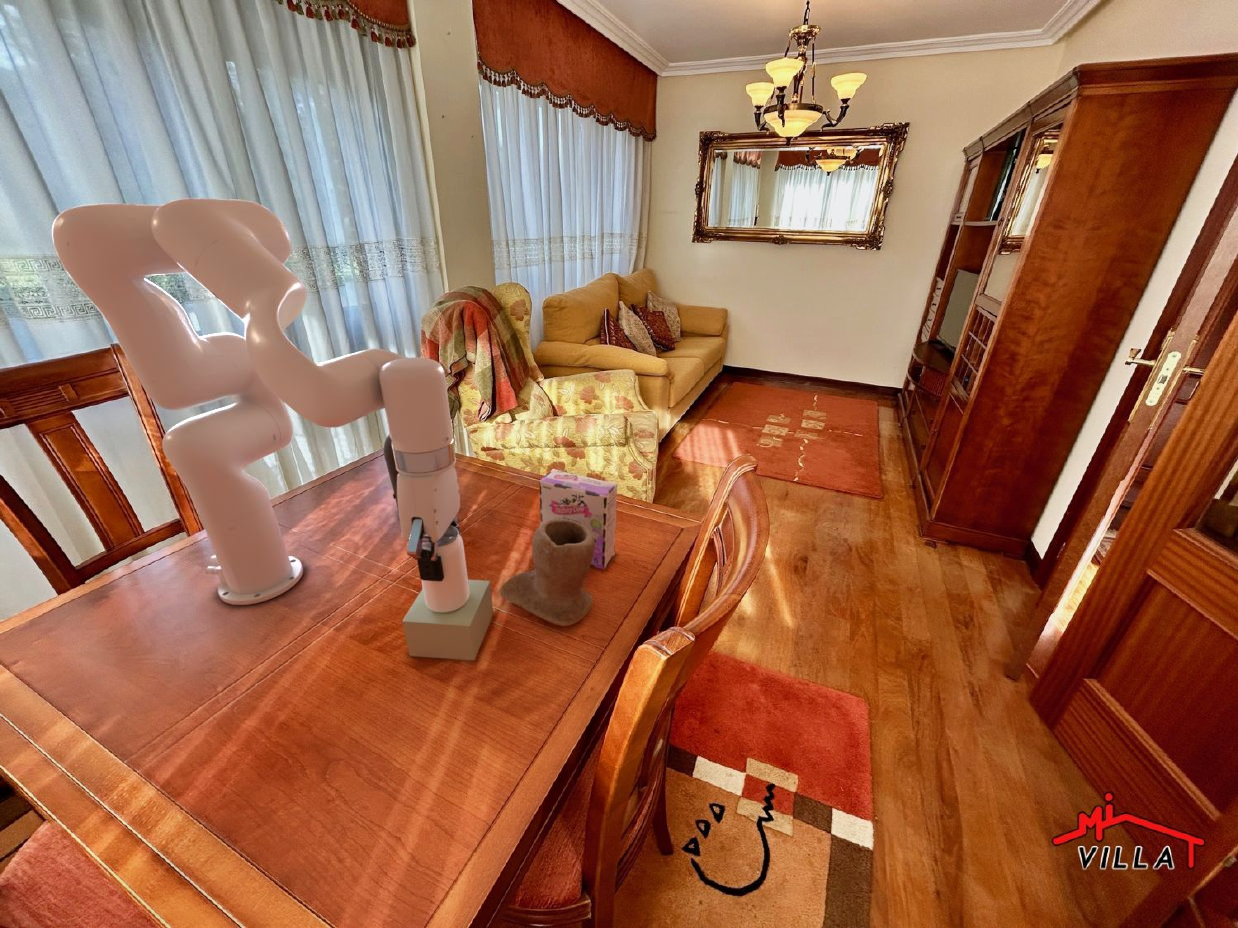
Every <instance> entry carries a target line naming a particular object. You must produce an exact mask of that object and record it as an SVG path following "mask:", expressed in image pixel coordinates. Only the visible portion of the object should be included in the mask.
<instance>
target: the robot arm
mask: <svg viewBox="0 0 1238 928" xmlns="http://www.w3.org/2000/svg"><path fill="white" fill-rule="evenodd" d="M51 238H52V242H53V247H54V249H55V253H56V255H57V258H58V260H59V262H60V264H61V266H62V267H63V269H64V271H65V272H66V273H67V275H68V276H69V278H70V279H71V280H72V281H73V283H74V284H75V286H77V288H78V289H79V290H80V291H81V292H82V293H83V294H84V295H85V297H86V298H87V299H88V300H89V301H90V302H91V303H92V304H93V305H94V307H95V308H96V309H97V310H98V311H99V313H100V314H101V315H102V316H103V318H104V320H105V321H106V322H107V324H108V326H109V328H110V329H111V331H112V333H113V335H114V337H115V339H116V342H117V343H118V345H119V346H120V348H121V351H122V352H123V353H124V355H125V357H126V359H127V361H128V363H129V365H130V366H131V369H132V370H133V372H134V374H135V376H136V377H137V379H138V381H139V383H140V384H141V386H142V388H143V389H144V391H145V393H146V394H147V396H148V397H149V398H150V399H151V400H152V402H153V403H155V404H156V405H157V406H158V407H160V408H161V409H165V410H168V411H169V410H170V411H183V410H188V409H192V408H195V407H200V406H203V405H206V404H209V403H213V402H216V401H219V400H223V399H226V398H229V397H230V398H231V399H232V401H233V403H232V404H229V405H226V406H223V407H220V408H217V409H216V408H215V409H214V410H210V411H207V412H204V413H201V414H198V415H196V416H191V417H190V418H187V419H185V420H182V421H181V422H179V423H176V424H175V425H174V426H171V428H170V429H169V430H167V432H166V433H165V434H164V436H163V438H162V442H161V448H162V451H163V453H164V456H165V458H166V459H167V461H168V463H169V464H170V465H171V467H172V468H173V469H174V471H175V473H176V474H177V476H178V477H179V478H180V480H181V481H182V483H183V485H184V487H185V488H186V490H187V492H188V494H189V496H190V498H191V501H192V502H193V504H194V507H195V509H196V512H197V514H198V517H199V518H200V520H201V523H202V526H203V528H204V530H205V533H206V536H207V538H208V541H209V543H210V545H211V548H212V550H213V553H214V555H212V556H210V558H209V560H208V565H209V566H207V567H206V569H205V574H206V575H213V576H214V575H216V576H217V575H218V577H219V580H220V582H219V584H218V586H217V594H218V596H219V598H220V600H222V602H224V603H226V604H228V605H229V604H230V605H234V606H246V605H247V606H248V605H254V604H258V603H263V602H266V601H268V600H271V599H274V598H276V597H278V596H280V595H282V594H284V593H285V592H287V591H289V590H291V588H293V587H294V586H295V585H296V584H297V583H298V582H299V581H300V579H301V578H302V576H303V574H304V567H303V563H302V561H301V560H300V559H298V558H297V557H295V556H291V555H289V553H288V550H287V547H286V544H285V541H284V538H283V535H282V532H281V529H280V526H279V522H278V519H277V517H276V513H275V511H274V507H273V505H272V501H271V498H270V495H269V493H268V490H267V488H266V486H265V485H264V484H263V483H262V482H261V481H260V480H259V479H257V478H255V477H253V476H251V475H250V474H248V473H247V472H246V471H245V468H246V467H247V466H249V465H251V464H253V463H255V462H256V461H259V460H261V459H263V458H266V457H268V456H270V455H272V454H274V453H276V452H279V451H280V450H282V449H284V448H286V447H287V446H288V445H289V444H290V443H291V442H292V440H293V438H294V425H293V422H292V418H291V415H290V413H289V411H288V408H287V407H286V406H288V407H289V408H290V409H291V410H292V411H294V412H295V413H296V414H297V415H299V416H300V417H302V418H303V419H305V420H306V421H308V422H309V423H312V424H314V425H316V426H319V427H322V428H329V429H330V428H331V429H333V428H339V427H340V428H341V427H343V426H345V425H348V424H350V423H353V422H355V421H357V420H359V419H362V418H363V417H365V416H367V415H369V414H372V413H374V412H376V411H380V410H383V409H384V411H385V416H386V422H387V423H386V424H387V428H388V432H389V433H388V434H390V438H391V444H392V449H393V454H394V459H395V464H396V469H397V471H398V472H399V473H398V475H397V501H398V508H397V511H398V510H399V512H398V519H399V524H400V525H399V526H400V530H401V536H402V540H403V541H405V542H408V543H407V549H406V554H407V556H409V557H411V558H413V559H414V560H415V561H417V566H418V567H417V568H418V572H419V577H420V580H421V579H422V580H426V581H443V579H444V573H443V566H442V560H441V556H438V540H439V539H440V538H441V537H442V536H443V534H444V533H445V531H446V530H447V528H448V527H449V525H452V526H454V527H456V528H457V529H458V531H459V535H460V536H461V530H460V527H459V526H460V518H459V515H458V513H459V511H460V507H461V494H460V487H459V481H458V480H459V479H458V474H457V470H456V466H455V465H456V464H457V456H456V449H455V441H454V433H453V425H452V417H451V410H450V401H449V394H448V387H447V386H448V385H447V378H446V374H445V373H446V372H445V369H444V367H443V365H442V364H441V363H440V362H438V361H436V360H434V359H432V358H427V357H417V356H416V357H408V356H406V355H405V356H404V355H402V354H399V353H396V352H393V351H391V350H387V349H383V348H367V349H364V350H360V351H357V352H354V353H349V354H345V355H343V356H339V357H335V358H332V359H329V360H326V361H323V362H319V363H316V362H314V361H313V360H311V359H310V358H309V357H308V356H307V355H306V354H304V353H303V352H302V351H301V350H300V349H298V347H297V346H296V345H295V344H293V343H292V341H291V340H290V339H289V338H288V337H287V336H286V334H285V332H284V330H285V329H287V327H289V326H290V325H291V324H292V323H293V322H294V321H295V320H296V319H297V318H298V316H299V315H300V314H301V312H302V311H303V309H304V307H305V305H306V301H307V297H308V296H307V295H308V294H307V288H306V286H305V284H304V282H303V281H302V280H301V279H300V277H298V276H297V275H296V274H295V273H293V272H292V271H291V270H290V269H289V267H287V266H286V265H284V264H285V263H287V261H289V259H290V256H291V254H292V242H291V237H290V234H289V231H288V230H287V228H286V226H285V225H284V223H283V222H282V220H281V219H280V218H279V217H278V216H277V215H276V214H275V213H274V212H273V211H272V210H270V209H269V208H267V207H266V206H264V205H262V204H260V203H258V202H254V201H251V200H247V199H245V200H244V199H228V198H227V199H226V198H225V199H223V198H203V197H200V198H198V197H187V198H179V199H174V200H171V201H170V200H169V201H168V202H166V203H164V204H162V205H161V204H138V203H136V204H135V203H91V204H83V205H77V206H74V207H71V208H67V209H66V210H63V211H62V212H60V213H59V214H58V215H57V216H56V217H55V219H54V220H53V223H52V228H51ZM175 274H176V275H177V274H188V275H189V276H190V277H191V278H193V279H194V280H195V281H196V282H198V284H199V285H201V286H202V287H203V288H204V289H205V290H206V291H208V292H209V293H210V294H211V295H212V296H213V297H214V298H216V299H217V300H218V301H219V302H220V303H221V304H222V305H223V306H225V307H226V308H227V309H228V310H229V311H230V312H232V313H233V314H234V316H236V317H237V318H239V320H241V322H242V323H244V336H242V335H239V334H237V333H233V332H218V333H211V334H207V335H206V334H205V335H201V336H199V334H197V332H196V330H195V328H194V327H193V325H192V323H191V321H190V319H189V316H188V314H187V313H186V310H185V309H184V308H183V306H182V305H181V304H180V303H179V302H178V300H176V298H174V297H173V296H172V295H171V294H169V293H168V292H166V290H164V289H163V288H162V287H160V286H158V285H157V284H155V283H154V282H152V281H150V280H148V279H147V277H150V276H160V275H175ZM424 532H425V533H427V535H428V536H423V535H424ZM430 536H431V537H430ZM423 542H430V543H431V551H429V550H425V549H423V548H422V543H423Z"/></svg>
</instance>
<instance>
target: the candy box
mask: <svg viewBox="0 0 1238 928" xmlns="http://www.w3.org/2000/svg"><path fill="white" fill-rule="evenodd" d="M538 482H539V483H538V485H539V509H540V525H541V524H542V523H543V522H545V521H548V520H553V519H566V520H571V521H575V522H578V523H580V524H582V525H584V526H586V527H587V528H588V529H589V530H590V531H591V533H592V534H593V537H594V541H595V551H594V556H593V559H592V563H591V566H590V567H593V568H597V569H600V570H605V569H606V567H607V566H608V565H609V563H610V562H611V561H612V559H613V558H614V557H615V555H616V553H615V547H616V545H615V543H616V525H617V523H616V522H617V501H618V500H617V499H618V483H617V482H613V481H607V480H601V479H598V478H594V477H589V476H585V475H581V474H575V473H571V472H567V471H563V470H559V469H557V468H556V469H555V468H553V469H551V470H550V471H548V473H547V474H546V475H545V476H543V477H542V478H541V479H540V480H539V481H538Z"/></svg>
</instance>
